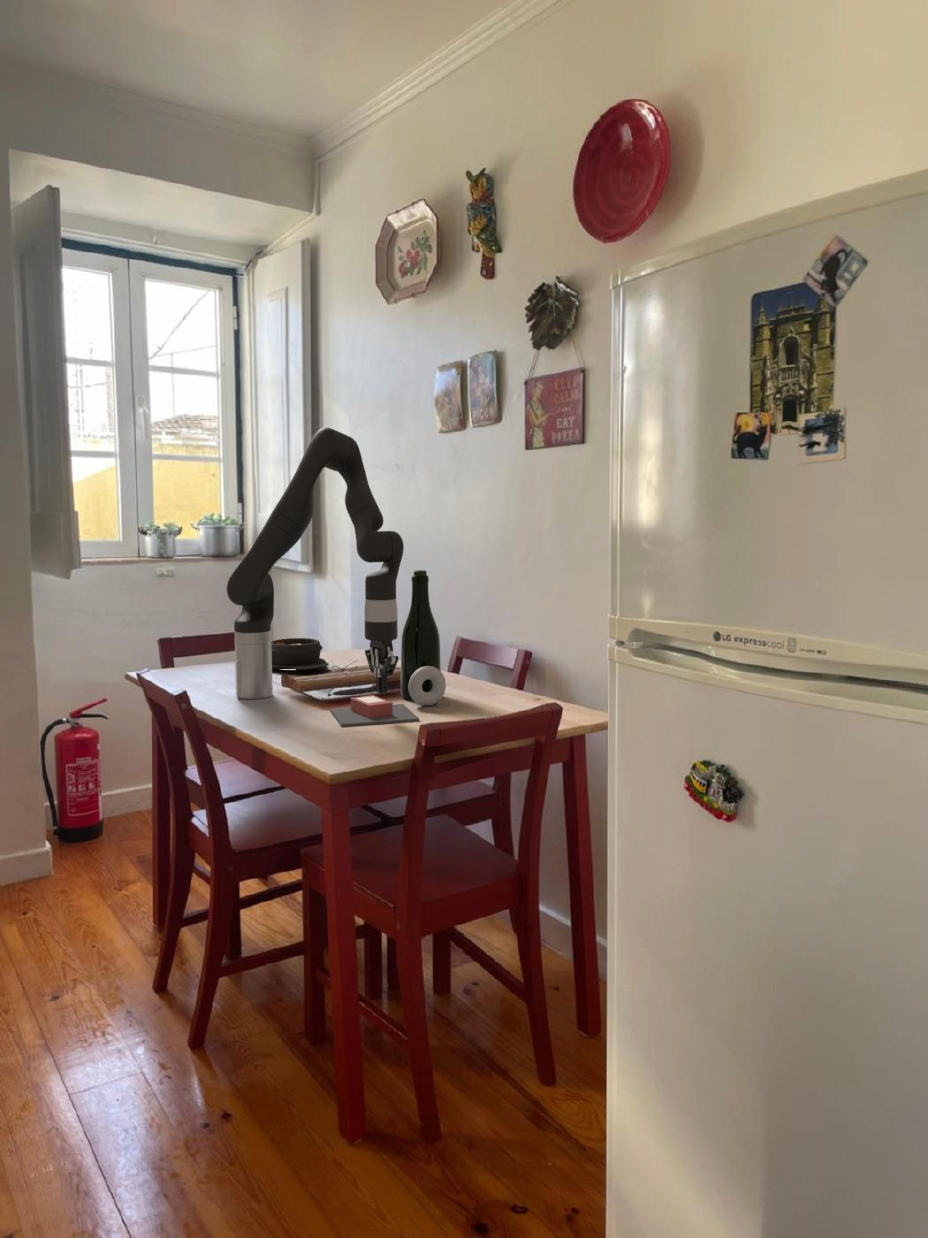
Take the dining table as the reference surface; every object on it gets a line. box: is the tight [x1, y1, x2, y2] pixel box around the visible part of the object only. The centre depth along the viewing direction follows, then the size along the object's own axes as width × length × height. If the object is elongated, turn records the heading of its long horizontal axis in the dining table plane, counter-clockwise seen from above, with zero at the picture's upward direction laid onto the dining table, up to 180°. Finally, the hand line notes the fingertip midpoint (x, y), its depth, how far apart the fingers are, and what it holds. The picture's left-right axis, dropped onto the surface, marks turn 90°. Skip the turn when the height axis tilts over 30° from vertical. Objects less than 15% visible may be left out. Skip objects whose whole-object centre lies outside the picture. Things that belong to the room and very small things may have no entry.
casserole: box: [271, 637, 330, 671], centre depth 274 cm, size 25×19×8 cm
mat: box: [330, 703, 420, 728], centre depth 211 cm, size 18×16×1 cm
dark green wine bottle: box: [400, 569, 442, 701], centre depth 230 cm, size 10×10×33 cm
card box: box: [350, 694, 394, 718], centre depth 212 cm, size 6×3×10 cm
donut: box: [408, 666, 447, 707], centre depth 222 cm, size 10×4×10 cm, turn 118°
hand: (381, 692), depth 207 cm, fingers closed
